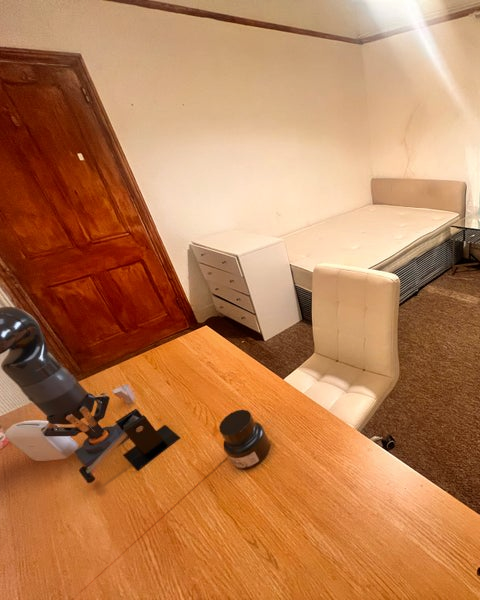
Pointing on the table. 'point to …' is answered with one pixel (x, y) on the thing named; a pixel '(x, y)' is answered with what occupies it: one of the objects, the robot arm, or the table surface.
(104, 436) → the button
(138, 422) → the bracket
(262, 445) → the ink bottle
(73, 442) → the photo printer
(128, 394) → the pale grey angular bracket
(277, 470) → the table surface
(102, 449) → the button box
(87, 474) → the switch lever
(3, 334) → the robot arm
